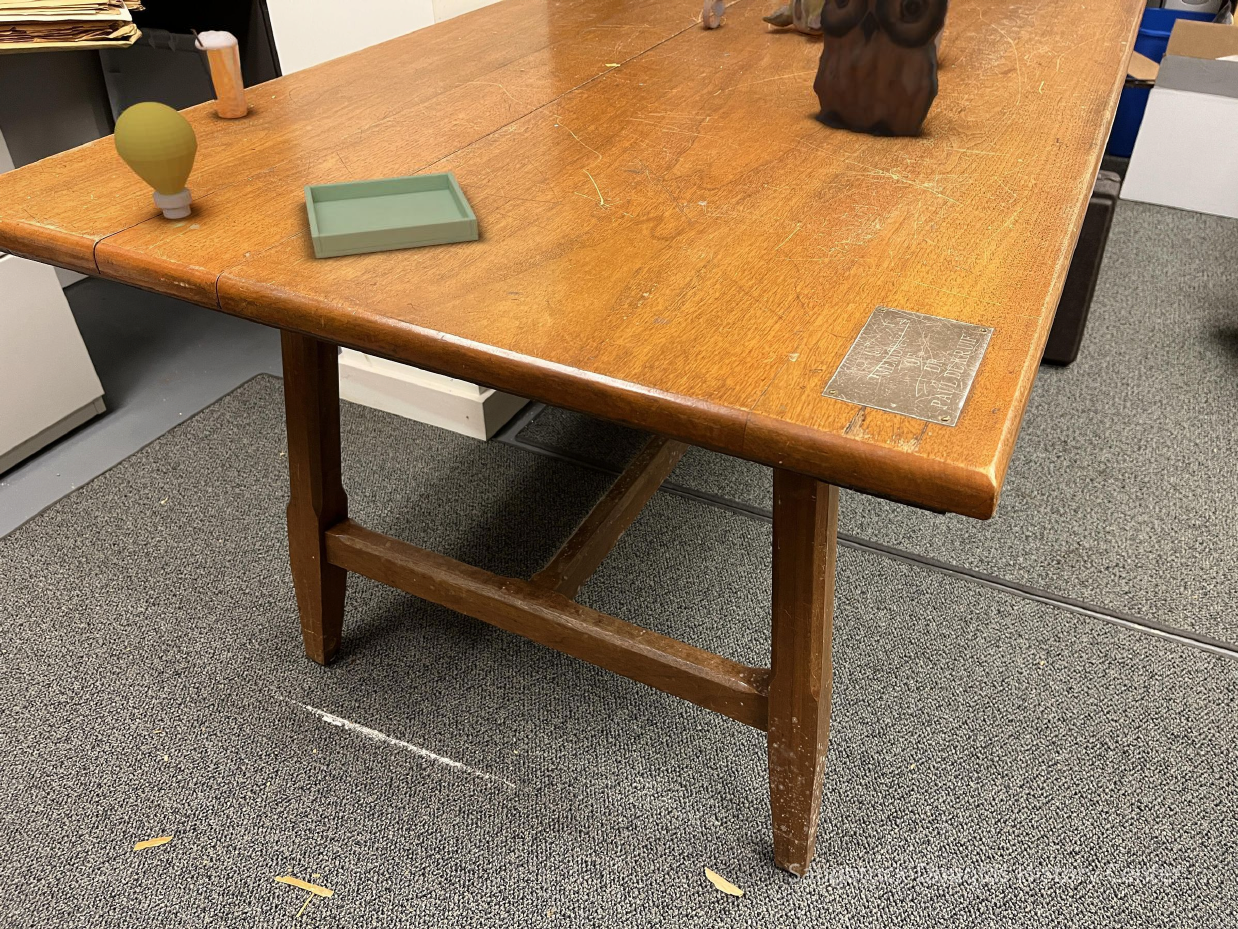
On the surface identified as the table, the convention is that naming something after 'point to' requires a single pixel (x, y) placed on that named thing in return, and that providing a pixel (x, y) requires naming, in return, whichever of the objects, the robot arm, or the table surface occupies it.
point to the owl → (878, 64)
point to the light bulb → (159, 153)
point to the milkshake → (222, 71)
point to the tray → (388, 214)
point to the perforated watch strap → (717, 10)
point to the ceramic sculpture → (799, 16)
